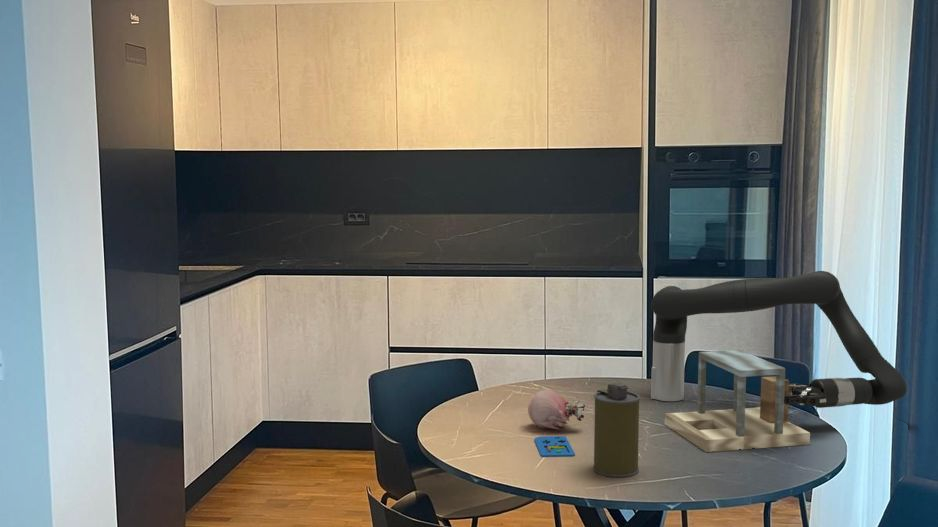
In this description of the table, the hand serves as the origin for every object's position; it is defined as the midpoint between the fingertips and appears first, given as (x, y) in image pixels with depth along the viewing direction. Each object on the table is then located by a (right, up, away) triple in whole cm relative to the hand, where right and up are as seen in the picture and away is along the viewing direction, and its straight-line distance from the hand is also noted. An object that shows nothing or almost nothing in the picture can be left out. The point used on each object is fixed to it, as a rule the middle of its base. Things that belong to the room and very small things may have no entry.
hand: (775, 396), depth 240 cm
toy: (-57, -9, +5) cm, 58 cm away
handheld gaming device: (-59, -11, -11) cm, 61 cm away
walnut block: (0, -6, +1) cm, 6 cm away
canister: (-46, -13, -28) cm, 56 cm away
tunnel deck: (-10, -10, -1) cm, 14 cm away
